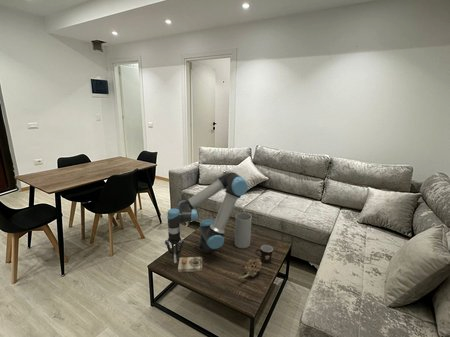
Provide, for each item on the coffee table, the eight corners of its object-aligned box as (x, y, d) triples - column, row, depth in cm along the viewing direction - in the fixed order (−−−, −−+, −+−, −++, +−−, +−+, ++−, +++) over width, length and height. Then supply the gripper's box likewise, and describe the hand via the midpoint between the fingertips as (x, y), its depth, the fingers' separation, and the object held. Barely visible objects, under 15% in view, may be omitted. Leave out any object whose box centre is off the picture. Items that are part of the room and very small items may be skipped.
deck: (202, 259, 174) (202, 256, 174) (202, 271, 163) (202, 268, 162) (179, 260, 173) (179, 257, 172) (178, 272, 162) (178, 268, 161)
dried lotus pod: (251, 264, 171) (252, 252, 168) (263, 270, 165) (264, 258, 163) (234, 282, 154) (234, 269, 151) (247, 289, 148) (248, 276, 145)
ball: (187, 261, 169) (187, 256, 168) (187, 264, 165) (187, 260, 164) (182, 261, 168) (182, 256, 167) (181, 264, 165) (181, 260, 164)
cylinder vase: (252, 243, 196) (254, 215, 189) (245, 250, 186) (247, 221, 179) (239, 238, 203) (240, 211, 196) (231, 245, 192) (232, 217, 185)
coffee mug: (273, 258, 178) (274, 246, 175) (270, 265, 170) (271, 253, 167) (258, 254, 182) (258, 242, 180) (254, 260, 175) (255, 248, 172)
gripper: (184, 228, 164) (185, 257, 170) (165, 228, 163) (166, 258, 169) (183, 234, 156) (184, 265, 163) (163, 234, 155) (164, 265, 162)
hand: (175, 261), depth 166 cm, fingers closed
